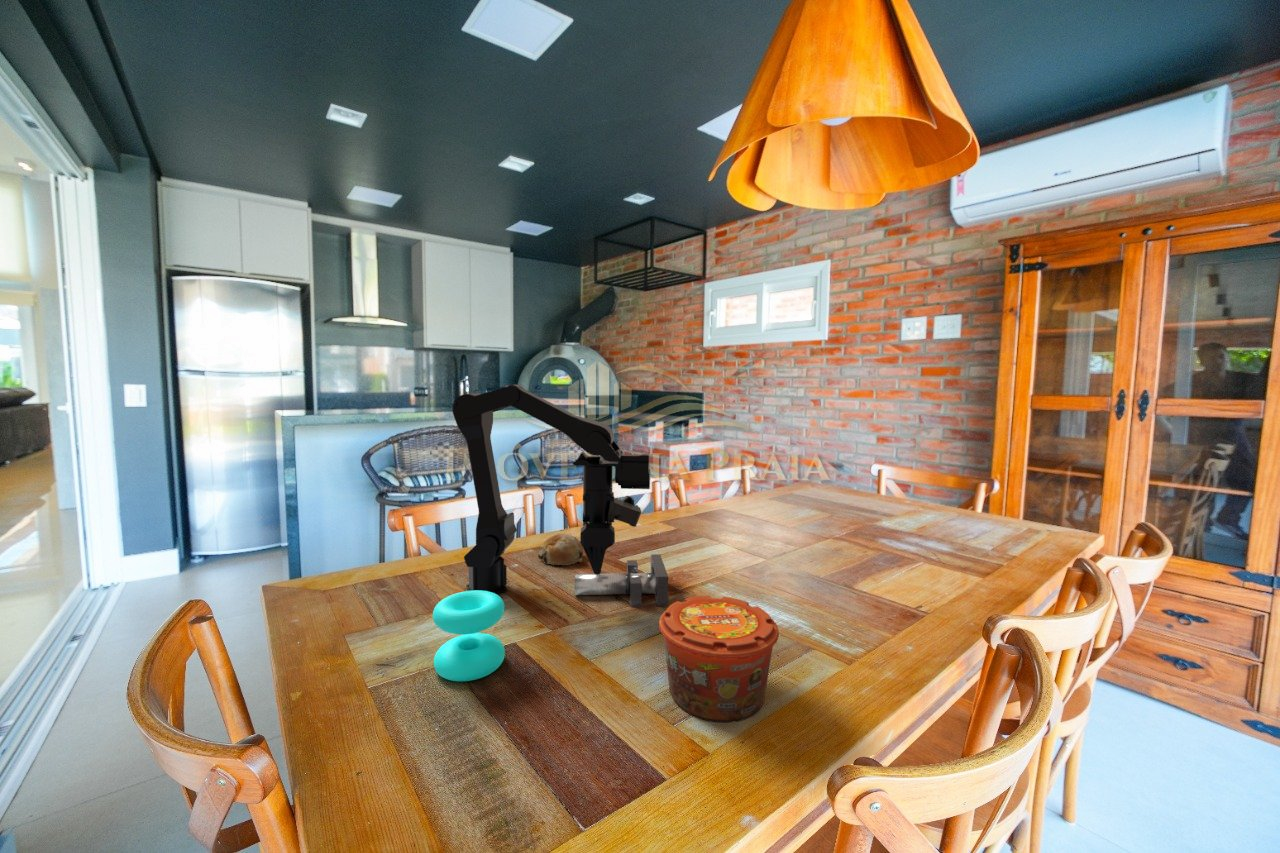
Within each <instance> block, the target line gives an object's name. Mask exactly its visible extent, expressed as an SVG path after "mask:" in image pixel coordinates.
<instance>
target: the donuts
mask: <svg viewBox="0 0 1280 853" xmlns="http://www.w3.org/2000/svg"><path fill="white" fill-rule="evenodd" d="M504 613H505V602H504V600H503V599H502V597H500V595H498V593H496V594H495V593H492V592H488V591H482V590H473V591H469V590H466V591H461V592H457V593H452V594H451V595H447V596H446V597H445V598H443V599H441V600H440V601H439V602H438V603H437V604H436V605H435V607H434V608H433V612H432V621H433V623H434V624H435V625H436V627H437V628H438V629H440V630H442V631H443V632H445V633H448V634H452V635H457V636H456V637H453V638H451V639H449V640H447V641H446V642H444V643H443V644H442V645H441V646H440V647H439V648H438V650H437V651H436V653H435V655H434V658H433V666H434V671H435V672H436V673H437V675H439V676H440V677H441V678H443V679H446V680H448V681H453V682H470V681H476V680H479V679H483V678H484V677H486V676H489V675H491V674H492V673H494V672H495V671H496V670H497V669H499V667H501V665H502V663H503V662H504V660H505V655H506V649H505V646H504V644H503V643H502V641H501V640H500V639H499V638H498V637H496V636H494V635H492V634H489V633H483V631H486V630H489V628H492V627H494V625H496V624H497V623H498V622H499V621H500V619H501V618H502V617H503V615H504Z"/></svg>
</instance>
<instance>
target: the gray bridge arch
mask: <svg viewBox="0 0 1280 853" xmlns="http://www.w3.org/2000/svg"><path fill="white" fill-rule="evenodd" d="M650 573H655V576H656V594H655V598H654V600H655V603H656V606H657V607H669V606H668V605H669V604H668V603H669V602H668V601H669V575H668V572H667V569H666V567H665V563H664V560H663V558H662V555H661V554H659V553H658V554H657V553H656V554H650Z"/></svg>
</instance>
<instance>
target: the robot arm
mask: <svg viewBox="0 0 1280 853" xmlns="http://www.w3.org/2000/svg"><path fill="white" fill-rule="evenodd" d="M509 407H513V408H515V409H517V410H519V411H520V412H521V411H522V412H523V413H525V414H527V415H528V416H531V417H533V418H534V419H536V420H538V421H540V422H542V423H543V424H546V425H547V426H549V427H552V428H554V429H555V430H558V431H559V432H561V433H563V434H565V436H567V437H568V438H569V439H570V440H571V441H572V442H573V443H574V444H575V445H577V446H578V447H580V449H582V450H583V451H582V452H580V454H579V456H578V457H577V458H576V459H575V460H574V461H573V462H572V465H573V466H576V467H577V466H582V468H583V469H582V471H583V472H582V475H583V476H582V485H583V486H582V491H583V492H582V526H581V528H580V534H579V536H580V540H579V541H580V543H581V545H582V547H583V552H584V553H585V556H586V557H587V560H588V562H589V565H590V567H591V570H592V572H593V574H602V568H603V564H604V559H605V554H606V551H607V549H609V548H610V547H612V546H613V545H614V544H615V541H616V538H615V537H616V533H615V532H616V531H615V527H614V526H613V523H615V520H616V521H619V522H622V523H624V524H628V525H629V526H630V527H634V528H635V527H637V525H638V522H639V520H640V517H641V515H642V509H641V507H639V505H637V504H635V499H634V497H632V496H629V495H626V496H624V497H623V499H620V498H619V499H618V498H615V494H614V492H613V475H614V482H615V484H617V486H620V489H623V490H631V489H632V490H650V489H651V468H650V454H649V453H640V454H624V452H623V451H622V449H621V448H620V447H619V445H618V443H617V442H616V441H615V434H614V432H613V429H612V427H611V426H609V425H608V424H606V423H603V422H600V421H597V420H593V419H591V418H587V417H584V416H583V417H582V416H579V415H575V414H573V413H572V412H570V411H567V410H565V409H563V408H562V407H559V406H558V405H556V404H555V403H552V402H551V401H548V400H546V399H544V398H543V397H540V396H538V395H537V394H534V393H532V392H531V391H529V390H527V389H525V388H524V386H521V384H520V385H519V384H507V385H505V386H504V387H502V388H499V389H495V390H491V391H488V392H484V393H478V392H477V393H475V392H474V393H464V394H461V395H459V396H458V397H457V398H455V400H454V402H453V403H452V407H451V412H452V415H453V418H454V420H455V424H456V425H457V428H458V430H459V432H460V433H461V435H462V436H463V438H464V439H465V441H466V447H467V452H468V457H469V462H470V463H469V464H470V468H471V475H472V479H473V486H474V492H475V497H476V502H477V504H476V505H477V508H478V510H477V511H478V515H477V521H476V527H475V545H474V546H473V547H472V548H471V549H470V550H469V551H468V552H467V553H466V554H465V555H464V556H463V559H464V562H465V564H466V567H468V584H466V586H465V587H466V588H465V589H467V591H473V590H482V591H488V592H492V593H495V594H500V593H504V592H508V587H507V584H508V583H507V582H508V581H507V580H508V578H507V577H508V576H507V575H508V574H507V573H508V571H507V569H508V568H507V564H505V559H504V557H502V555H503V554H504V553H505V552H506V550H507V549H508V548H509V546H510V545H511V544H512V543H513V542H514V540H515V537H516V536H515V535H516V533H517V532H518V528H517V527H516V524H515V513H514V511H513V512H512V511H511V512H509V513H507V511H506V510H505V508H504V507H503V504H502V503H503V502H502V498H501V491H500V486H499V480H498V474H497V469H496V462H495V457H494V452H493V451H494V450H493V444H492V437H491V434H492V429H493V425H494V413H495V412H498V411H501V410H504V409H507V408H509ZM586 453H587V454H589V456H588V455H587V454H586ZM590 455H591V456H590ZM603 459H604V460H603ZM613 467H614V473H613Z"/></svg>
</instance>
